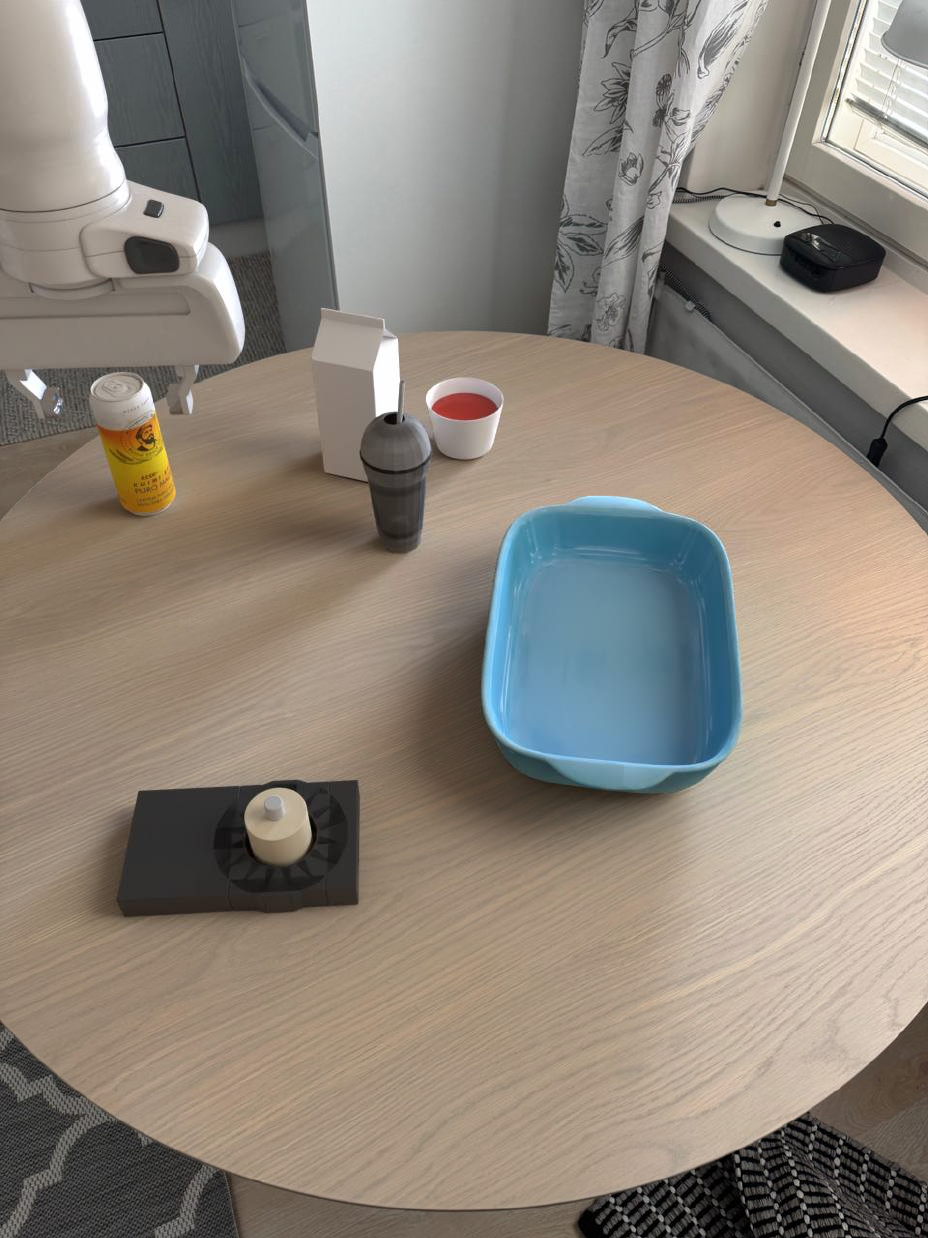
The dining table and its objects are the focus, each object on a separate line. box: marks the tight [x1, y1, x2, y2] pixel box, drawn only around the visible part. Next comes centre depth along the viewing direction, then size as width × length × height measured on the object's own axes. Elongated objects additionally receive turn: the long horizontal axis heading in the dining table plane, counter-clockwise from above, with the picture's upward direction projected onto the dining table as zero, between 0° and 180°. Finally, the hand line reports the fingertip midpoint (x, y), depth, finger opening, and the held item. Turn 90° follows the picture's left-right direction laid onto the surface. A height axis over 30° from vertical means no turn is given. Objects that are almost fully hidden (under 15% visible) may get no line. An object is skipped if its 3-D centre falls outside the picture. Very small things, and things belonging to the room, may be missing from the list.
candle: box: [425, 377, 504, 460], centre depth 118 cm, size 9×9×6 cm
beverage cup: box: [359, 379, 433, 554], centre depth 100 cm, size 7×7×20 cm
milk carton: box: [310, 307, 401, 483], centre depth 110 cm, size 7×7×19 cm
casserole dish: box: [480, 495, 744, 794], centre depth 92 cm, size 37×22×7 cm, turn 173°
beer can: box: [88, 371, 177, 517], centre depth 106 cm, size 6×6×15 cm
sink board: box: [116, 779, 361, 918], centre depth 80 cm, size 18×11×2 cm, turn 94°
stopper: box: [244, 788, 315, 868], centre depth 78 cm, size 5×5×7 cm
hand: (117, 412), depth 73 cm, fingers open, 8 cm apart
